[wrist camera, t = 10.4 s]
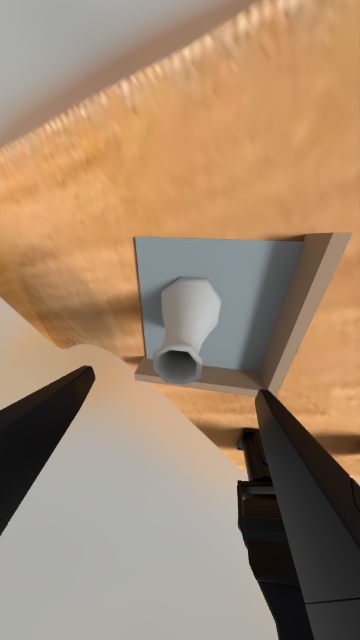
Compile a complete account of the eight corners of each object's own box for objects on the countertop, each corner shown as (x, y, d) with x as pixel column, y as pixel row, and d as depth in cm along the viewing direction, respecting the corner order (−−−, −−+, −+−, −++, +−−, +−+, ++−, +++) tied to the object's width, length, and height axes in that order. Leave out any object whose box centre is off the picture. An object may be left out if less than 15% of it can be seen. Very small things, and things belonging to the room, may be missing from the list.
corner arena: (265, 377, 22) (274, 399, 19) (144, 362, 24) (135, 380, 21) (320, 234, 14) (352, 233, 11) (130, 230, 16) (112, 227, 13)
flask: (151, 284, 18) (100, 328, 9) (215, 266, 16) (226, 299, 7) (171, 336, 21) (146, 408, 12) (227, 326, 19) (245, 402, 10)
